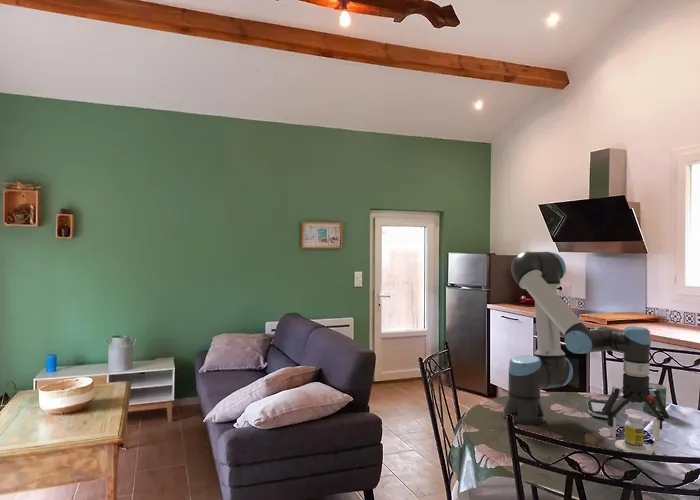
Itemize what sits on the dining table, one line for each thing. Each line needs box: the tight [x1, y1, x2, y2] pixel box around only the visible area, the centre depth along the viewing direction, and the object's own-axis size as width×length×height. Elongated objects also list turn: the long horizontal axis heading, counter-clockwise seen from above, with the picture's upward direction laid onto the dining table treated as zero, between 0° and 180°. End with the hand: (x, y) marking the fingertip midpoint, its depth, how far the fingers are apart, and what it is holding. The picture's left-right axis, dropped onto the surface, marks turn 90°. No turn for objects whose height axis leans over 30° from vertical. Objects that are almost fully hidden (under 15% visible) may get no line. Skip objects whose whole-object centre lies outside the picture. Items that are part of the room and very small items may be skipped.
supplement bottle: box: [623, 414, 645, 448], centre depth 164 cm, size 5×5×10 cm
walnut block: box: [584, 432, 605, 449], centre depth 164 cm, size 4×4×4 cm
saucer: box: [614, 439, 654, 455], centre depth 164 cm, size 11×11×1 cm
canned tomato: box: [642, 382, 667, 416], centre depth 200 cm, size 8×8×11 cm
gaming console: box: [586, 399, 608, 420], centre depth 200 cm, size 19×9×2 cm, turn 158°
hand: (634, 437), depth 164 cm, fingers open, 13 cm apart
